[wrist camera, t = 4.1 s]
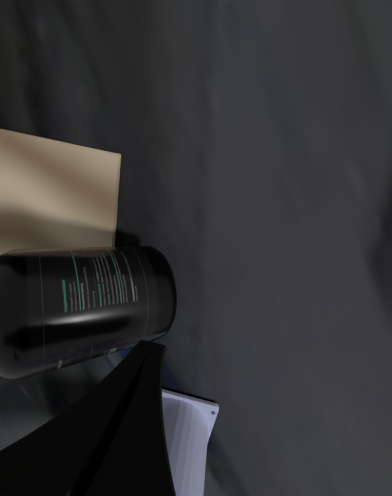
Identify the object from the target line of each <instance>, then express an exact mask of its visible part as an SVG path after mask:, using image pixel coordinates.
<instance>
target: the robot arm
mask: <svg viewBox="0 0 392 496" xmlns="http://www.w3.org/2000/svg"><path fill="white" fill-rule="evenodd" d="M165 352H166V347H165V345H161V344H157V343H154V342H150V341H146V340H140V341H139V342H138V343H137V345H136V346H135V347H134V348H133V349H132V351H131V352H130V353H129V354H128V355H127V356H126V357H125V358H124V359H123V360H122V361H121V362H120V363H119V364H118V365H117V366H116V367H115V368H114V369H113V370H112V371H111V372H110V373H109V374H108V375H107V376H106V377H105V378H104V379H103V380H102V381H101V382H99V383H98V384H97V385H96V386H95V387H94V388H93V389H91V390H90V391H89V392H88V393H87V394H85V395H84V396H83V397H82V398H80V399H79V400H78V401H76V402H75V403H74V404H72V405H71V406H70V407H68V408H67V409H66V410H64V411H63V412H62V413H60V414H59V415H57V416H56V417H54V418H53V419H51V420H50V421H48V422H47V423H45V424H44V425H42V426H41V427H39V428H38V429H36V430H34V431H33V432H31V433H30V434H28V435H27V436H25V437H23V438H22V439H20V440H18V441H17V442H15V443H13V444H11V445H9V446H8V447H6V448H4V449H2V450H1V451H0V496H203V491H204V478H205V465H206V452H207V443H208V440H209V437H210V434H211V431H212V428H213V425H214V422H215V419H216V417H217V414H218V411H219V406H218V404H216V403H213V402H209V401H206V400H202V399H198V398H194V397H191V396H187V395H183V394H179V393H176V392H172V391H168V390H164V389H162V368H163V362H164V357H165Z"/></svg>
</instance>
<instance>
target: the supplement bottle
mask: <svg viewBox="0 0 392 496" xmlns="http://www.w3.org/2000/svg"><path fill="white" fill-rule="evenodd" d="M176 306H177V293H176V285H175V280H174V276H173V272H172V270H171V267H170V265H169V263H168V261H167V259H166V258H165V256H164V255H163V254H162V253H161V252H160V251H159V250H157V249H155V248H153V247H150V246H117V247H76V248H36V249H16V250H11V251H8V252H6V253H3V254H2V255H0V377H1V378H3V379H7V380H21V379H25V378H30V377H33V376H36V375H40V374H43V373H47V372H50V371H53V370H57V369H60V368H63V367H67V366H70V365H74V364H77V363H80V362H84V361H87V360H90V359H94V358H97V357H100V356H104V355H107V354H111V353H114V352H117V351H121V350H124V349H127V348H131V347H134V346H136V345H137V343H138V342H139V341H140V340H146V341H154V340H157V339H159V338H161V337H163V336H164V335H165V334H166V333H167V332H168V331H169V329H170V328H171V326H172V324H173V321H174V318H175V314H176Z"/></svg>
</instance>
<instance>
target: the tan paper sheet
mask: <svg viewBox="0 0 392 496" xmlns="http://www.w3.org/2000/svg"><path fill="white" fill-rule="evenodd" d="M120 162H121V154H117V153H113V152H108V151H103V150H99V149H94V148H89V147H85V146H80V145H75V144H70V143H66V142H61V141H56V140H52V139H47V138H42V137H38V136H33V135H28V134H24V133H19V132H14V131H10V130H5V129H0V255H2V254H3V253H6V252H8V251H11V250H16V249H36V248H76V247H115V233H116V219H117V205H118V191H119V176H120Z"/></svg>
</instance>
